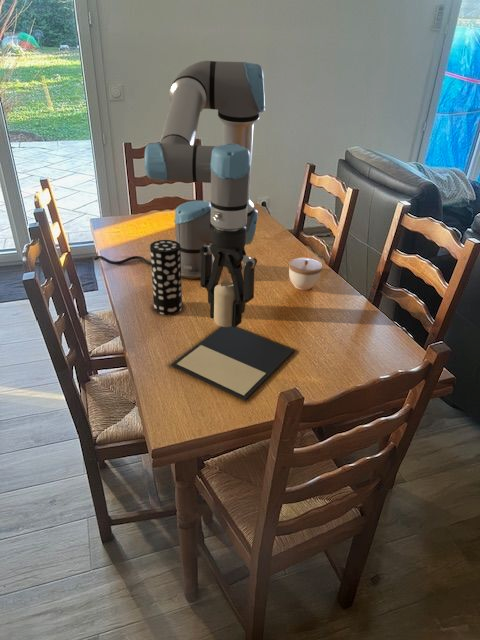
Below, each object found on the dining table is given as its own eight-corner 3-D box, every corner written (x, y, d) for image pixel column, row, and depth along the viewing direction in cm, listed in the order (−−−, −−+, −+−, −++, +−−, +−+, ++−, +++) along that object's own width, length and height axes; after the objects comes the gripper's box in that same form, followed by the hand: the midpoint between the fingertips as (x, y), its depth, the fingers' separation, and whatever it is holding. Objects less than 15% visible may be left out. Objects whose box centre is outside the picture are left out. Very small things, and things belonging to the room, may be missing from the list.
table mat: (170, 365, 116) (170, 364, 116) (225, 324, 134) (225, 322, 133) (245, 401, 106) (245, 399, 106) (294, 351, 124) (294, 349, 123)
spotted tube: (186, 304, 142) (185, 242, 131) (174, 317, 135) (172, 253, 125) (162, 298, 144) (158, 237, 134) (148, 311, 138) (144, 248, 127)
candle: (213, 314, 111) (213, 277, 106) (236, 314, 112) (238, 277, 107) (214, 327, 107) (214, 288, 101) (238, 327, 107) (240, 288, 102)
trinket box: (318, 295, 150) (322, 269, 145) (285, 290, 152) (287, 264, 147) (320, 280, 159) (323, 255, 154) (288, 276, 161) (291, 251, 156)
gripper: (182, 220, 98) (184, 314, 111) (257, 241, 90) (250, 340, 102) (203, 211, 104) (203, 301, 116) (276, 230, 95) (268, 326, 108)
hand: (225, 319), depth 109 cm, fingers closed on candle, 5 cm apart
